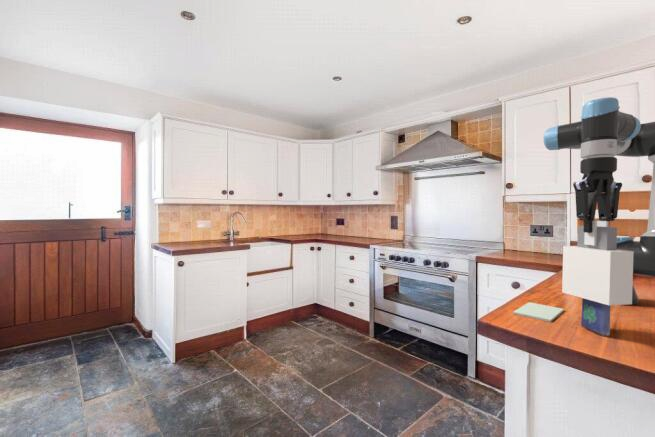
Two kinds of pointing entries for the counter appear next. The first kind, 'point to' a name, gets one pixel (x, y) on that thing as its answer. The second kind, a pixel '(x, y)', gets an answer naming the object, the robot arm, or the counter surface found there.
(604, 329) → the flask
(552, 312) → the mat
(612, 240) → the off-white upright block
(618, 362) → the counter surface
